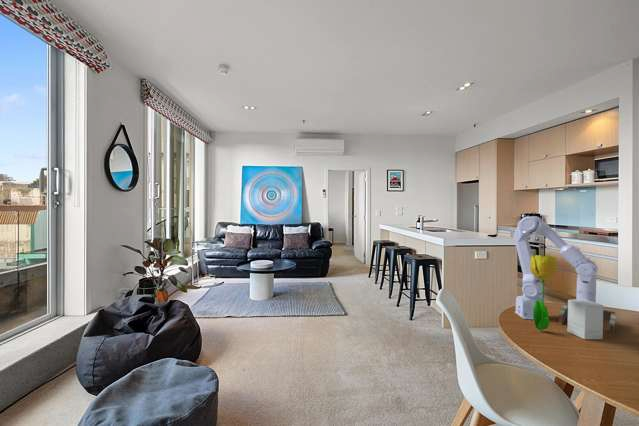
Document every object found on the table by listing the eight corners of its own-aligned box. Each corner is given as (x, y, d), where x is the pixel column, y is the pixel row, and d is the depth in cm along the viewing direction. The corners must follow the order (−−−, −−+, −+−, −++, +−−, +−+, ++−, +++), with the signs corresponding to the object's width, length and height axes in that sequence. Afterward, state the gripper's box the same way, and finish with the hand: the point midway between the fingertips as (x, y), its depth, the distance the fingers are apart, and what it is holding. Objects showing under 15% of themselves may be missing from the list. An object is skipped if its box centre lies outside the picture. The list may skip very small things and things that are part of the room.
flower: (559, 337, 110) (562, 256, 109) (535, 335, 112) (537, 255, 111) (547, 327, 119) (549, 253, 118) (524, 326, 120) (526, 252, 120)
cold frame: (564, 313, 135) (564, 302, 135) (615, 324, 123) (615, 312, 123) (558, 323, 123) (558, 311, 123) (614, 336, 111) (614, 323, 111)
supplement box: (603, 339, 109) (604, 305, 108) (584, 339, 108) (585, 305, 108) (584, 330, 116) (585, 298, 116) (566, 331, 116) (567, 299, 115)
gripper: (598, 297, 109) (597, 334, 110) (601, 290, 119) (600, 323, 120) (573, 293, 114) (572, 328, 115) (578, 286, 125) (577, 318, 125)
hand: (585, 325), depth 118 cm, fingers closed
